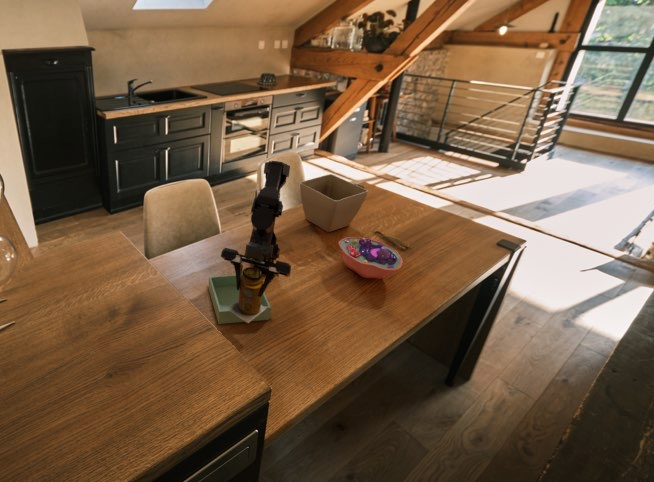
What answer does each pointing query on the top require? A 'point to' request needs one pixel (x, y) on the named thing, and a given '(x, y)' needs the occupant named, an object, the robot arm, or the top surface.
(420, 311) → the top surface
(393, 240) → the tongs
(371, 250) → the cell model
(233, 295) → the tray
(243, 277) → the condiment
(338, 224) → the flower pot
